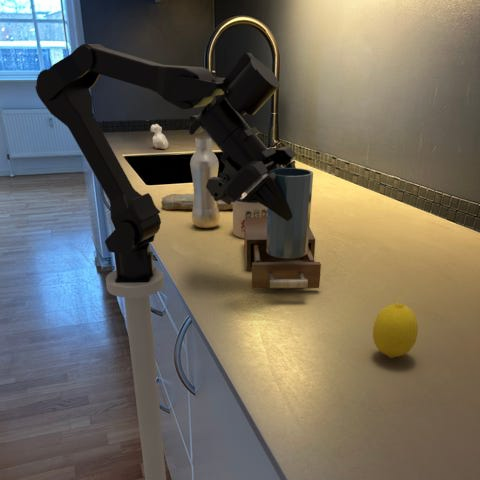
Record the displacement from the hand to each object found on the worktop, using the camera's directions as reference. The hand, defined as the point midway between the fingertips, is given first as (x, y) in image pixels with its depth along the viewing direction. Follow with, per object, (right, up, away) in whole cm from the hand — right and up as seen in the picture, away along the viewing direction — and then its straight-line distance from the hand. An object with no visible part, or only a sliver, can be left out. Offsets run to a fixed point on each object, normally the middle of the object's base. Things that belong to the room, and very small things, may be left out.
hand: (296, 213), depth 82 cm
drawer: (-1, -10, +9) cm, 13 cm away
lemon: (+11, -22, -14) cm, 28 cm away
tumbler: (-1, -6, +3) cm, 7 cm away
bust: (-44, +59, +145) cm, 163 cm away
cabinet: (-2, -4, +21) cm, 21 cm away
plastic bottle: (-17, +5, +39) cm, 43 cm away
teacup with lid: (-5, +3, +35) cm, 36 cm away
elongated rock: (-13, +13, +56) cm, 58 cm away
